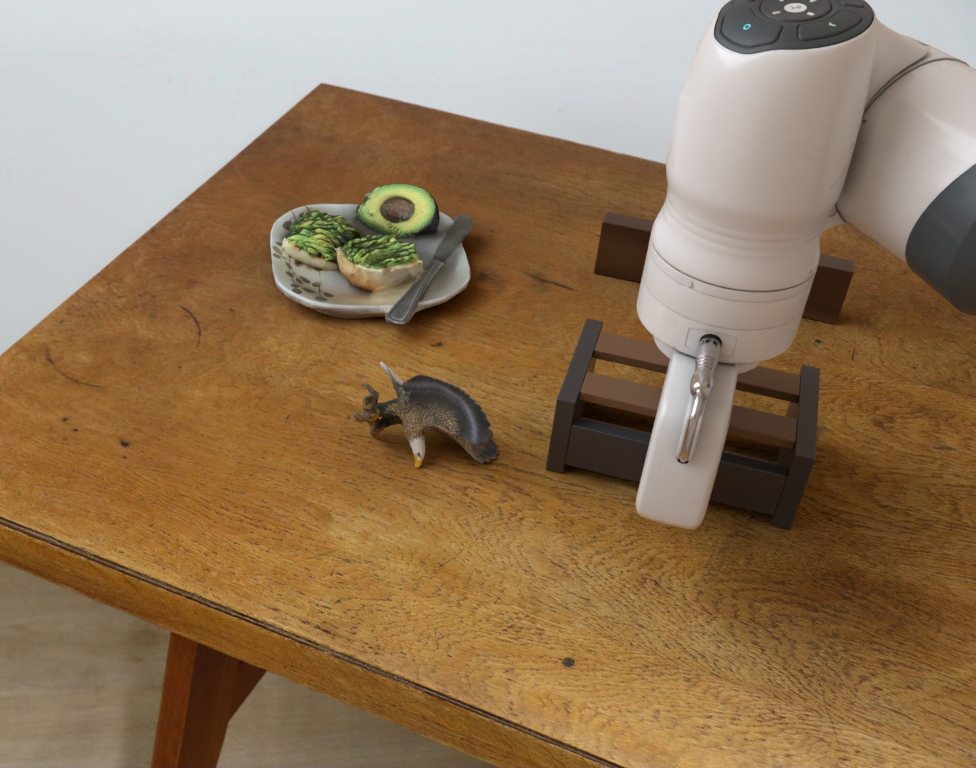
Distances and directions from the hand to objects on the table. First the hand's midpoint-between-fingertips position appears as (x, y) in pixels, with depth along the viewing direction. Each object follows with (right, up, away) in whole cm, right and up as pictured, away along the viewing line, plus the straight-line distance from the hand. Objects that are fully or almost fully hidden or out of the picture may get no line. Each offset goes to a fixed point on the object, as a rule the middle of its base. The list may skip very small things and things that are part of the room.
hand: (673, 479), depth 70 cm
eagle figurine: (-15, +1, +6) cm, 17 cm away
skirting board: (+9, +14, +23) cm, 29 cm away
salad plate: (-20, +16, +25) cm, 35 cm away
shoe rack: (+2, +1, +7) cm, 7 cm away
